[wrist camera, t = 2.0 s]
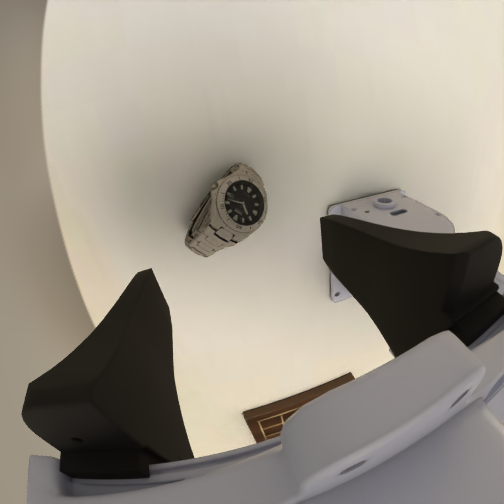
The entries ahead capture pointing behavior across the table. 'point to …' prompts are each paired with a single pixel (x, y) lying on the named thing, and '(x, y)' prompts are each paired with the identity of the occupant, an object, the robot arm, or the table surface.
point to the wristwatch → (228, 212)
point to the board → (285, 410)
